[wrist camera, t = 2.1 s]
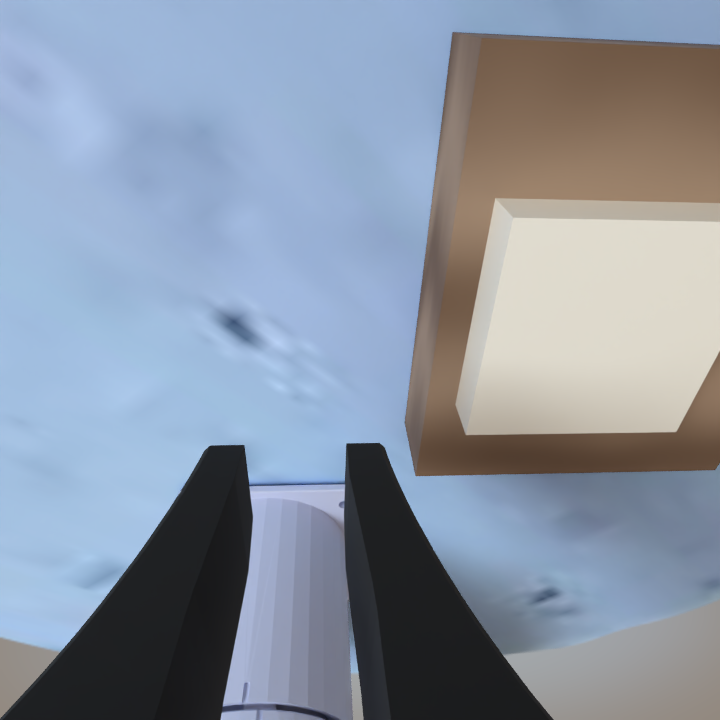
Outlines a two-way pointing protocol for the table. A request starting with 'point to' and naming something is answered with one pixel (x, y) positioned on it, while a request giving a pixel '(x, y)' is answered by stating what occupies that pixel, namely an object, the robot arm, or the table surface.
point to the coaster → (592, 317)
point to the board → (559, 182)
